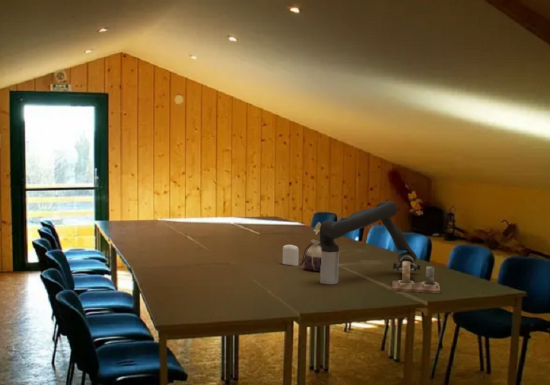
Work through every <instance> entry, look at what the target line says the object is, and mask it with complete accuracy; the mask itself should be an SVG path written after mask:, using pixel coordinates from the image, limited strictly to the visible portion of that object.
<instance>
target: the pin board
mask: <svg viewBox="0 0 550 385" xmlns="http://www.w3.org/2000/svg"><path fill="white" fill-rule="evenodd" d="M425 269H426V270H425V281H422V282H421V281H413V280H410V284H408V283H402V279H401V280H400V279H399V280H392V283H391V292H405V293H418V292H422V293H421V294H423V293H424V294H435V293H437V294H439V295H440V294H441V287H440V283H439V282H437V281H435V267H434V266H425Z"/></svg>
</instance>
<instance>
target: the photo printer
mask: <svg viewBox="0 0 550 385" xmlns="http://www.w3.org/2000/svg"><path fill="white" fill-rule="evenodd" d="M299 251H300V250H299V247H298V246H296V245H294V244H285V245H283V246H282V265H286V266H287V265H288V266H293V267H294V266H295V267H297V266H299V255H300V254H299Z"/></svg>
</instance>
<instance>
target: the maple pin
mask: <svg viewBox="0 0 550 385" xmlns="http://www.w3.org/2000/svg"><path fill="white" fill-rule="evenodd" d="M401 270H402V272H401V273H402V274H401V280H402V283H408V284H410V281H411V270H410V262H409V261H403V263H402V269H401Z"/></svg>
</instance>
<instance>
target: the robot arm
mask: <svg viewBox="0 0 550 385" xmlns="http://www.w3.org/2000/svg"><path fill="white" fill-rule="evenodd" d="M398 212H399V206H398V205H397V203H396V202H394V201H392V200H388V201H387V200H385V201H380V202H378V203H377V205H376V206H375V207H371V208H365V209H361V210H359V211H356V212H352V214H350V215H349V216H348V218H346V219H343V220H340V221H334V220H333V221H332V220H324V221H323V222H322V223H321V226H320V232H319V242H320V243H319V245H320V246H321V249H322V251H321V269H320V272H319V273H320V275H319V278H320V279H319V283H320V284H324V285H337V284H339V265H340V264H339V258H340V256H339V255H340V247H339V245H338V244H337V243H336V242H335V240H336V239H340V238H341V237H343V236H345V235H348V234H349V233H351V232H354V231H357V230H360V229H363V228H365V227H368V226H370V225H373V224H375V223H376V222H379V221H381V222H382V224H383V226H384V227H385V229H386V230H387V232H388V234H389V235H390V237H391V240H392V242H393V244H394V247H395V248H396V250H397V251H399V252H401V251H405V252H402V253H400V254H398V256H397V262H398V263H397V262H396V261H395V262H393V263H392V269H393V270H395V269H396V270H397V271H399V270H402V263H403V261H409V262H410V271H413V272H416V271H421V264H420V263H416V264H415V262H416V261H417V258H418V256H417V254H416V252H414V250H413V249H412V247H411V246H410V245H409V243H408V242H407V239H406V236H405V235H404V233H403V231H402V230H401V229H400V228H399V227H398V226H397V225H396V224H395V223H394V221H393V219H392V218H393V217H394V216H396V215H397V214H398Z"/></svg>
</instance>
